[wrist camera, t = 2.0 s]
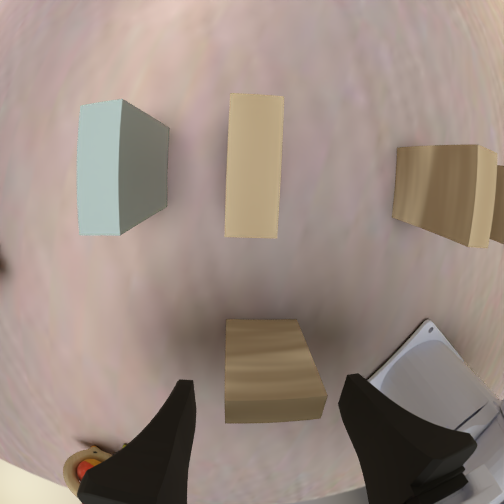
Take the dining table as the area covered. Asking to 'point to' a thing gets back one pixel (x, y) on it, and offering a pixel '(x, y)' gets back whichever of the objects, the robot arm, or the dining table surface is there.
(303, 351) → the domino
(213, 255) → the dining table surface
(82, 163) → the domino
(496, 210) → the domino
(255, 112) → the domino
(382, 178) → the dining table surface
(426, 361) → the robot arm
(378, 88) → the dining table surface
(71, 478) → the bird rattle
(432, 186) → the domino
